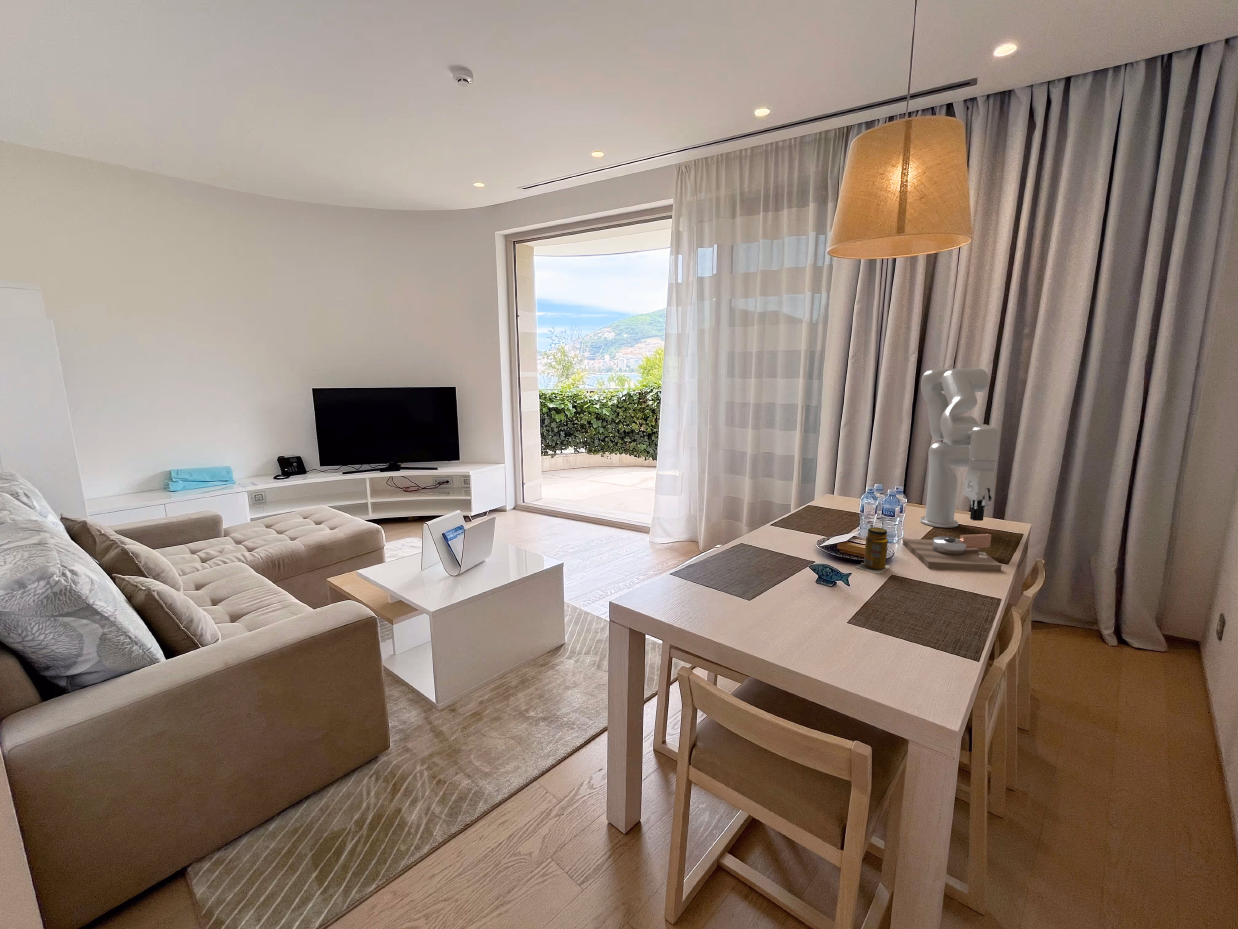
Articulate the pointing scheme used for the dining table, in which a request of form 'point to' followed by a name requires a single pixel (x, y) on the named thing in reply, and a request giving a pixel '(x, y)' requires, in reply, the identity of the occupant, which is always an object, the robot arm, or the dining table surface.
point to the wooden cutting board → (950, 557)
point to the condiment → (875, 551)
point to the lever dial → (960, 543)
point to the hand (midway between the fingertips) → (976, 519)
